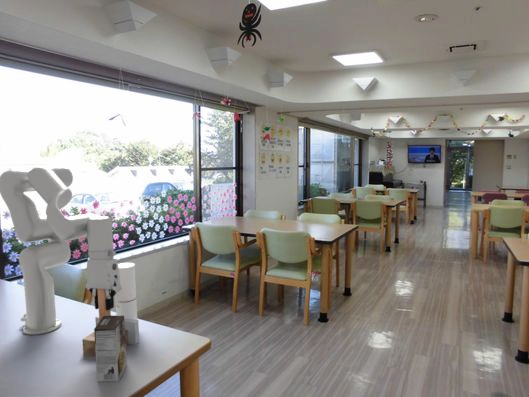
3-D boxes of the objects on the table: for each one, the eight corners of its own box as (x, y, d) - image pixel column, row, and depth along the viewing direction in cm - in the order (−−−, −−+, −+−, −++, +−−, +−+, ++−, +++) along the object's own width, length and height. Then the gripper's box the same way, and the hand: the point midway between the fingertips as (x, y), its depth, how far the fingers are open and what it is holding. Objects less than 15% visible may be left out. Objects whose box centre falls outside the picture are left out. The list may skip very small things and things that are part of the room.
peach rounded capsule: (96, 320, 130) (94, 285, 129) (104, 316, 134) (102, 281, 132) (106, 321, 129) (103, 286, 128) (113, 317, 133) (111, 282, 131)
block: (83, 353, 130) (82, 339, 129) (103, 340, 139) (103, 326, 139) (109, 358, 127) (108, 343, 126) (128, 343, 136) (127, 329, 136)
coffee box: (106, 365, 122) (103, 315, 121) (127, 364, 123) (125, 314, 121) (96, 382, 113) (93, 328, 112) (119, 381, 114) (116, 327, 112)
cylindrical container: (131, 336, 141) (128, 268, 138) (113, 335, 143) (109, 267, 140) (141, 328, 148) (138, 263, 145) (124, 326, 150) (120, 262, 147)
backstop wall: (96, 338, 140) (95, 317, 139) (100, 336, 142) (99, 314, 141) (135, 344, 135) (134, 322, 134) (139, 342, 137) (138, 320, 136)
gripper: (130, 252, 130) (133, 306, 132) (88, 250, 135) (91, 302, 137) (115, 258, 123) (118, 315, 125) (71, 255, 128) (75, 310, 130)
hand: (104, 307), depth 131 cm, fingers closed on peach rounded capsule, 3 cm apart
